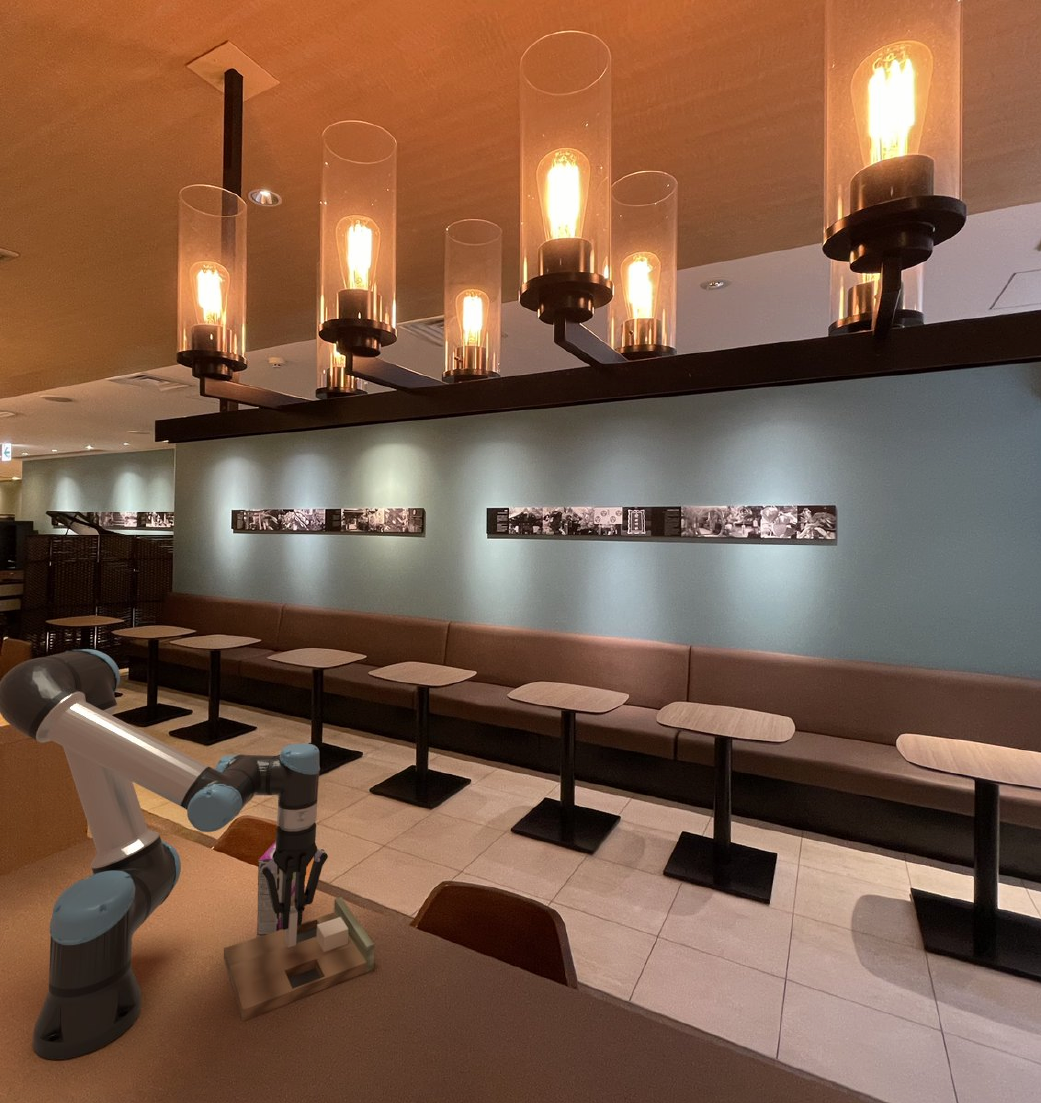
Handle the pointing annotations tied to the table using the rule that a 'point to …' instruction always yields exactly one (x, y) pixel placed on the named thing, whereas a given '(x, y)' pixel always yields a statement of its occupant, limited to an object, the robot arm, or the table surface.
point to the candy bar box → (266, 914)
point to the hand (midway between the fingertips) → (290, 942)
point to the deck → (295, 964)
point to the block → (332, 934)
